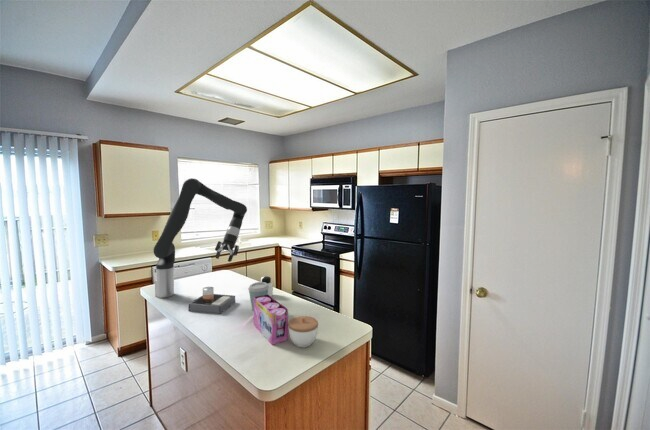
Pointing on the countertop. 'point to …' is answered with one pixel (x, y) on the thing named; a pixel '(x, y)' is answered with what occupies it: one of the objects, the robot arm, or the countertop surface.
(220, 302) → the cream rectangular block
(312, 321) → the lidded bowl
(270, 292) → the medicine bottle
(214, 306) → the tote
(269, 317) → the gum box
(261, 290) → the disposable coffee cup
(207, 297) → the silver lidded jar
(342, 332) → the countertop surface
